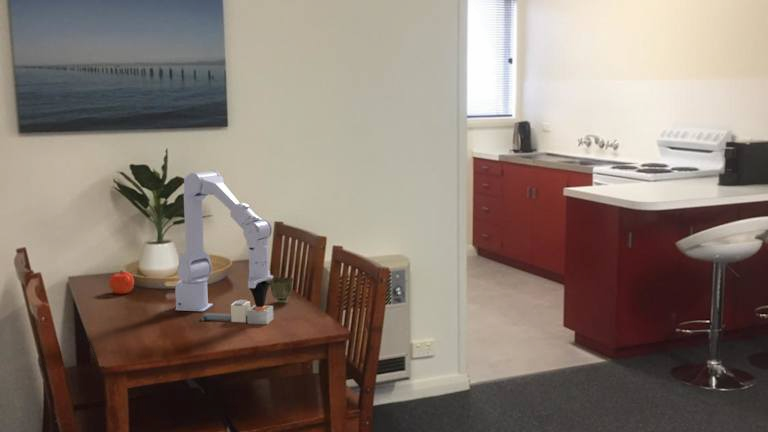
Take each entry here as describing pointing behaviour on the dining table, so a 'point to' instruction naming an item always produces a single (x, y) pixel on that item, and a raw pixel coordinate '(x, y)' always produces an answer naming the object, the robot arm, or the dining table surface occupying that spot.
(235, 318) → the block
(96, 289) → the dining table surface
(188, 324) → the dining table surface
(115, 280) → the apple
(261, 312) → the button housing
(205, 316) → the rail
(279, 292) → the cup
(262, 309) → the button
